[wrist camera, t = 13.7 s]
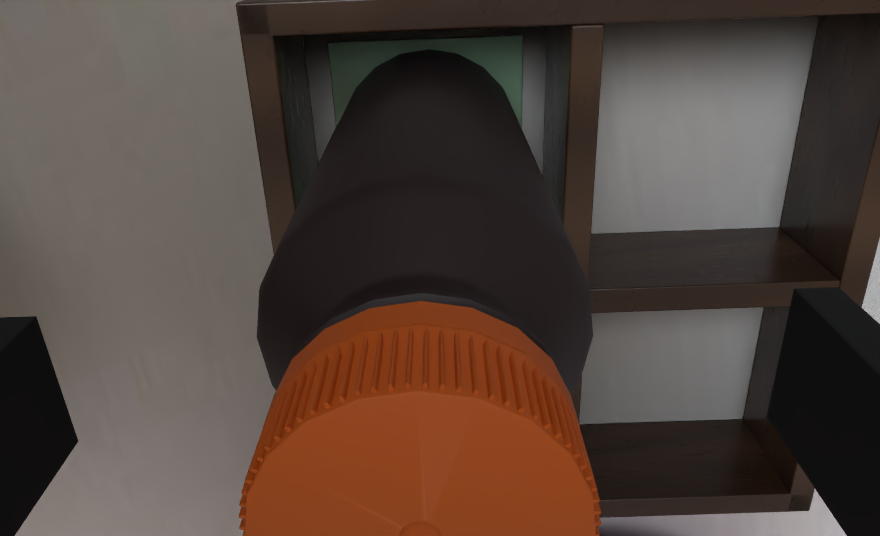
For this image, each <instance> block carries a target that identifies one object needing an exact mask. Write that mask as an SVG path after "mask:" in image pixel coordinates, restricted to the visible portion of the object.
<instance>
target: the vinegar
mask: <svg viewBox="0 0 880 536" xmlns="http://www.w3.org/2000/svg"><path fill="white" fill-rule="evenodd" d="M592 337H593V330H592V316H591V303H590V290H589V284H588V282H587V279H586V277H585V275H584V273H583V270H582V268H581V266H580V263H579V261H578V259H577V256H576V254H575V252H574V249H573V247H572V245H571V242H570V240H569V238H568V235H567V233H566V231H565V228H564V226H563V224H562V221H561V219H560V217H559V214H558V212H557V210H556V207H555V205H554V203H553V201H552V198H551V196H550V194H549V191H548V189H547V187H546V184H545V182H544V180H543V177H542V175H541V173H540V170H539V168H538V166H537V163H536V161H535V159H534V156H533V154H532V152H531V149H530V147H529V145H528V142H527V140H526V138H525V135H524V133H523V131H522V129H521V126H520V124H519V122H518V119H517V117H516V115H515V112H514V110H513V108H512V106H511V104H510V102H509V99H508V97H507V95H506V93H505V91H504V89H503V87H502V86H501V85H500V84H499V83H498V82H497V81H496V80H495V79H494V78H493V77H492V76H491V75H490V74H489V72H488V71H487V70H486V69H485V68H484V67H482V66H480V65H478V64H476V63H475V62H473V61H471V60H469V59H467V58H465V57H463V56H461V55H459V54H456V53H450V52H444V51H438V50H432V49H427V50H420V51H414V52H408V53H402V54H399V55H397V56H395V57H394V58H392V59H390V60H388V61H386V62H384V63H382V64H380V65H379V66H377V67H375V68H374V69H373V70H372V71H371V72H370V73H369V74H368V75H367V76H366V78H365V79H364V80H363V81H362V82H361V83H360V84H359V85H358V86H357V87H356V88H355V90H354V92H353V94H352V96H351V98H350V101H349V103H348V105H347V107H346V109H345V111H344V113H343V115H342V117H341V119H340V121H339V123H338V125H337V127H336V129H335V131H334V133H333V135H332V137H331V139H330V141H329V143H328V145H327V147H326V149H325V151H324V153H323V155H322V158H321V160H320V162H319V164H318V166H317V168H316V170H315V172H314V174H313V176H312V178H311V180H310V182H309V184H308V186H307V188H306V190H305V192H304V194H303V196H302V198H301V200H300V202H299V204H298V206H297V208H296V210H295V212H294V214H293V217H292V219H291V221H290V223H289V225H288V227H287V229H286V231H285V233H284V235H283V237H282V239H281V241H280V243H279V245H278V248H277V250H276V252H275V254H274V256H273V259H272V261H271V263H270V265H269V268H268V270H267V272H266V274H265V277H264V279H263V281H262V283H261V286H260V290H259V307H258V326H257V339H258V342H259V345H260V349H261V352H262V355H263V358H264V361H265V364H266V367H267V371H268V374H269V377H270V380H271V383H272V385H273V387H274V388H275V389H276V393H275V395H274V397H273V400H272V402H271V405H270V408H269V411H268V414H267V417H266V420H265V423H264V426H263V430H262V433H261V435H260V438H259V441H258V444H257V447H256V450H255V453H254V456H253V459H252V462H251V465H250V468H249V470H248V473H247V476H246V479H245V483H244V486H243V489H242V492H241V493H242V494H243V495H242V498H241V501H240V504H239V505H240V506H242V508H241V511H240V514H239V518H242V521H241V524H240V527H239V529H241V530H244V533H243V536H600V534H599V530H598V527H597V526H599V525H601V521H600V517H599V514H600V513H601V509H600V506H599V501H600V498H599V495H598V491H597V486H596V482H595V479H594V475H593V472H592V469H591V465H590V462H589V458H588V455H587V451H586V448H585V444H584V441H583V437H582V434H581V431H580V425H579V422H578V418H577V415H576V411H575V408H574V405H573V401H572V398H571V393H572V392H573V391H574V389H575V388H576V386H577V385H578V384H579V381H580V378H581V375H582V371H583V368H584V364H585V361H586V358H587V354H588V351H589V347H590V344H591V341H592Z"/></svg>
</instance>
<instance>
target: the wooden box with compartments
mask: <svg viewBox="0 0 880 536" xmlns="http://www.w3.org/2000/svg"><path fill="white" fill-rule="evenodd" d="M236 10H237V16H238V23H239V29H240V36H241V42H242V49H243V55H244V62H245V69H246V75H247V82H248V88H249V95H250V101H251V108H252V115H253V121H254V128H255V134H256V141H257V148H258V154H259V161H260V167H261V174H262V180H263V187H264V194H265V200H266V207H267V213H268V220H269V226H270V233H271V240H272V246H273V253H274V254H275V252H276V250H277V248H278V245H279V243H280V241H281V239H282V237H283V235H284V233H285V231H286V229H287V227H288V225H289V223H290V221H291V219H292V217H293V214H294V212H295V210H296V208H297V206H298V204H299V202H300V200H301V198H302V196H303V194H304V192H305V190H306V188H307V186H308V184H309V182H310V180H311V178H312V176H313V174H314V172H315V170H316V168H317V166H318V163H317V154H316V146H315V137H314V128H313V119H312V111H311V102H310V93H309V85H308V76H307V67H306V59H305V50H304V41H303V35H319V34H346V33H373V32H399V31H426V30H452V29H479V28H505V27H532V26H547V50H546V83H545V116H544V150H543V180H544V182H545V184H546V187H547V189H548V191H549V194H550V196H551V198H552V201H553V203H554V205H555V207H556V210H557V212H558V214H559V217H560V219H561V221H562V224H563V226H564V228H565V231H566V233H567V235H568V238H569V240H570V242H571V245H572V247H573V249H574V252H575V254H576V256H577V259H578V261H579V263H580V266H581V268H582V270H583V273H584V275H585V277H586V279H587V282H588V284H589V290H590V303H591V313H604V312H633V311H662V310H691V309H720V308H750V307H765V308H764V314H763V319H762V324H761V329H760V335H759V340H758V345H757V351H756V356H755V361H754V366H753V372H752V377H751V382H750V387H749V393H748V398H747V403H746V408H745V414H744V419H742V420H711V421H681V422H651V423H620V424H590V425H580V431H581V434H582V437H583V441H584V444H585V448H586V451H587V455H588V458H589V462H590V465H591V469H592V472H593V475H594V479H595V482H596V486H597V491H598V495H599V498H600V501H599V506H600V509H601V513H600V514H599V517H600V518H601V517H632V516H664V515H695V514H726V513H757V512H789V511H809V509H810V505H811V501H812V498H813V493H814V489H815V488H814V486H813V485H812V483H811V482H810V480H809V479H808V477H807V476H806V474H805V473H804V471H803V470H802V468H801V467H800V465H799V464H798V462H797V461H796V459H795V458H794V456H793V455H792V454H791V452H790V451H789V449H788V448H787V446H786V445H785V443H784V442H783V440H782V439H781V437H780V436H779V434H778V433H777V431H776V430H775V428H774V427H773V425H772V424H771V422H770V421H769V419H768V418H767V417H766V416H767V412H768V407H769V403H770V398H771V393H772V389H773V384H774V379H775V375H776V370H777V365H778V361H779V356H780V351H781V347H782V342H783V337H784V333H785V328H786V323H787V319H788V314H789V309H790V305H791V300H792V295H793V291H794V289H799V288H826V287H839V288H840V289H841V290H842V291H843V292H844V293H846V294H847V295H848V296H849V297H850V298H851V299H852V300H853V301H854V302H856V303H857V304H858V305H859V306H860V307H862V304H863V300H864V296H865V292H866V288H867V284H868V280H869V277H870V273H871V269H872V265H873V261H874V257H875V253H876V249H877V246H878V242H879V238H880V0H243V1H240V2H238V3H236ZM797 16H820V19H819V25H818V30H817V35H816V40H815V46H814V51H813V56H812V61H811V67H810V72H809V77H808V82H807V88H806V93H805V98H804V103H803V109H802V114H801V119H800V124H799V130H798V135H797V140H796V146H795V151H794V156H793V161H792V167H791V172H790V177H789V182H788V188H787V193H786V198H785V203H784V209H783V214H782V219H781V224H780V228H750V229H721V230H693V231H664V232H636V233H608V234H591V226H592V210H593V194H594V179H595V163H596V147H597V132H598V116H599V100H600V85H601V69H602V53H603V38H604V25H603V24H612V23H638V22H665V21H691V20H718V19H744V18H771V17H797ZM427 49H432V50H438V51H444V52H450V53H456V54H459V55H461V56H463V57H465V58H467V59H469V60H471V61H473V62H475V63H476V64H478V65H480V66H482V67H484V68H485V69H486V70H487V71H488V72H489V74H490V75H491V76H492V77H493V78H494V79H495V80H496V81H497V82H498V83H499V84H500V85H501V86H502V87H503V89H504V91H505V93H506V95H507V97H508V99H509V102H510V104H511V106H512V108H513V110H514V112H515V115H516V117H517V119H518V122H519V124H520V126H521V124H522V61H523V36H522V35H510V36H483V37H457V38H430V39H403V40H377V41H350V42H329V43H328V51H329V61H330V71H331V81H332V90H333V100H334V110H335V120H336V127H337V125H338V123H339V121H340V119H341V117H342V115H343V113H344V111H345V109H346V107H347V105H348V103H349V101H350V98H351V96H352V94H353V92H354V90H355V88H356V87H357V86H358V85H359V84H360V83H361V82H362V81H363V80H364V79H365V78H366V76H367V75H368V74H369V73H370V72H371V71H372V70H373V69H374V68H375V67H377V66H379V65H380V64H382V63H384V62H386V61H388V60H390V59H392V58H394V57H395V56H397V55H399V54H402V53H408V52H414V51H420V50H427ZM581 383H582V375H581V378H580V381H579V384H578V385H577V386H576V388H575V389H574V391H573V392H572V393H571V398H572V401H573V405H574V408H575V411H576V415H577V418H578V422H579V414H580V398H581Z"/></svg>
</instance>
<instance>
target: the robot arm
mask: <svg viewBox="0 0 880 536" xmlns="http://www.w3.org/2000/svg"><path fill="white" fill-rule="evenodd" d="M766 417H767V418H768V419H769V421H770V422H771V424H772V425H773V427H774V428H775V430H776V431H777V433H778V434H779V436H780V437H781V439H782V440H783V442H784V443H785V445H786V446H787V448H788V449H789V451H790V452H791V454H792V455H793V456H794V458H795V459H796V461H797V462H798V464H799V465H800V467H801V468H802V470H803V471H804V473H805V474H806V476H807V477H808V479H809V480H810V482H811V483H812V485H813V486H814V488H815V489H816V491H817V492H818V493H819V495H820V496H821V498H822V499H823V501H824V502H825V504H826V505H827V507H828V508H829V510H830V511H831V513H832V514H833V516H834V517H835V519H836V520H837V522H838V523H839V525H840V526H841V528H842V529H843V530H844V532H845V533H846V535H847V536H880V324H879V323H878V322H877V321H875V320H874V319H873V318H872V317H871V316H870V315H869V314H868V313H867V312H866V311H864V310H863V309H862V308H861V307H860V306H859V305H858V304H857V303H856V302H854V301H853V300H852V299H851V298H850V297H849V296H848V295H847V294H846V293H844V292H843V291H842V290H841V289H840V288H839V287H826V288H799V289H794V291H793V295H792V300H791V305H790V309H789V314H788V319H787V323H786V328H785V333H784V337H783V342H782V347H781V351H780V356H779V361H778V365H777V370H776V375H775V379H774V384H773V389H772V393H771V398H770V403H769V407H768V412H767V416H766ZM77 442H78V439H77V436H76V433H75V430H74V427H73V424H72V421H71V418H70V415H69V412H68V409H67V406H66V403H65V400H64V397H63V394H62V391H61V388H60V385H59V383H58V380H57V377H56V374H55V371H54V368H53V365H52V362H51V359H50V356H49V353H48V350H47V347H46V344H45V341H44V338H43V335H42V332H41V329H40V326H39V323H38V320H37V317H36V316H33V317H6V318H0V536H15V534H16V533H17V531H18V530H19V528H20V527H21V525H22V524H23V522H24V521H25V519H26V518H27V516H28V515H29V513H30V512H31V510H32V509H33V508H34V506H35V505H36V503H37V502H38V500H39V499H40V497H41V496H42V494H43V493H44V491H45V490H46V488H47V487H48V485H49V484H50V482H51V481H52V479H53V478H54V476H55V475H56V473H57V472H58V470H59V469H60V467H61V466H62V464H63V463H64V462H65V460H66V459H67V457H68V456H69V454H70V453H71V451H72V450H73V448H74V447H75V445H76V444H77Z"/></svg>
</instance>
